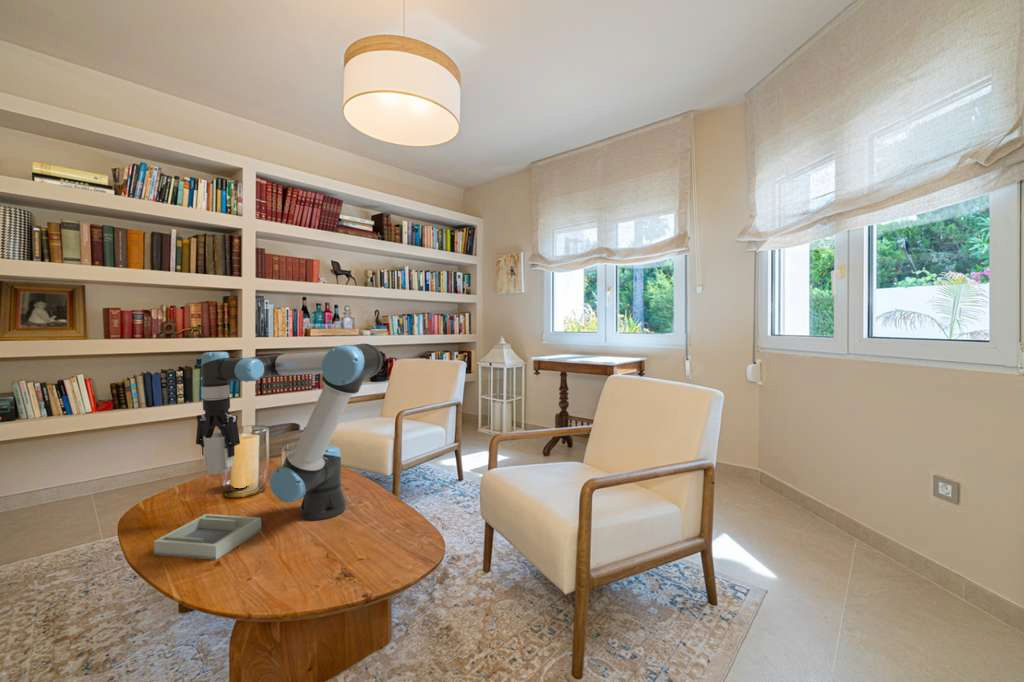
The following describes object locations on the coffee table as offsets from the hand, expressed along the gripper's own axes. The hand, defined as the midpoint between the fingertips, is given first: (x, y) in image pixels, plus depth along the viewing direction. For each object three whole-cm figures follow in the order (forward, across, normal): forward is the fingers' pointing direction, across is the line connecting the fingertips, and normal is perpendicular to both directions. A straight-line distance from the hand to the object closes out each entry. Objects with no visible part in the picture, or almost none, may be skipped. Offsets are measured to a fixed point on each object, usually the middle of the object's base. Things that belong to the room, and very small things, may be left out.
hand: (218, 465), depth 146 cm
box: (+19, -8, +12) cm, 24 cm away
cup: (+2, 0, 0) cm, 2 cm away
